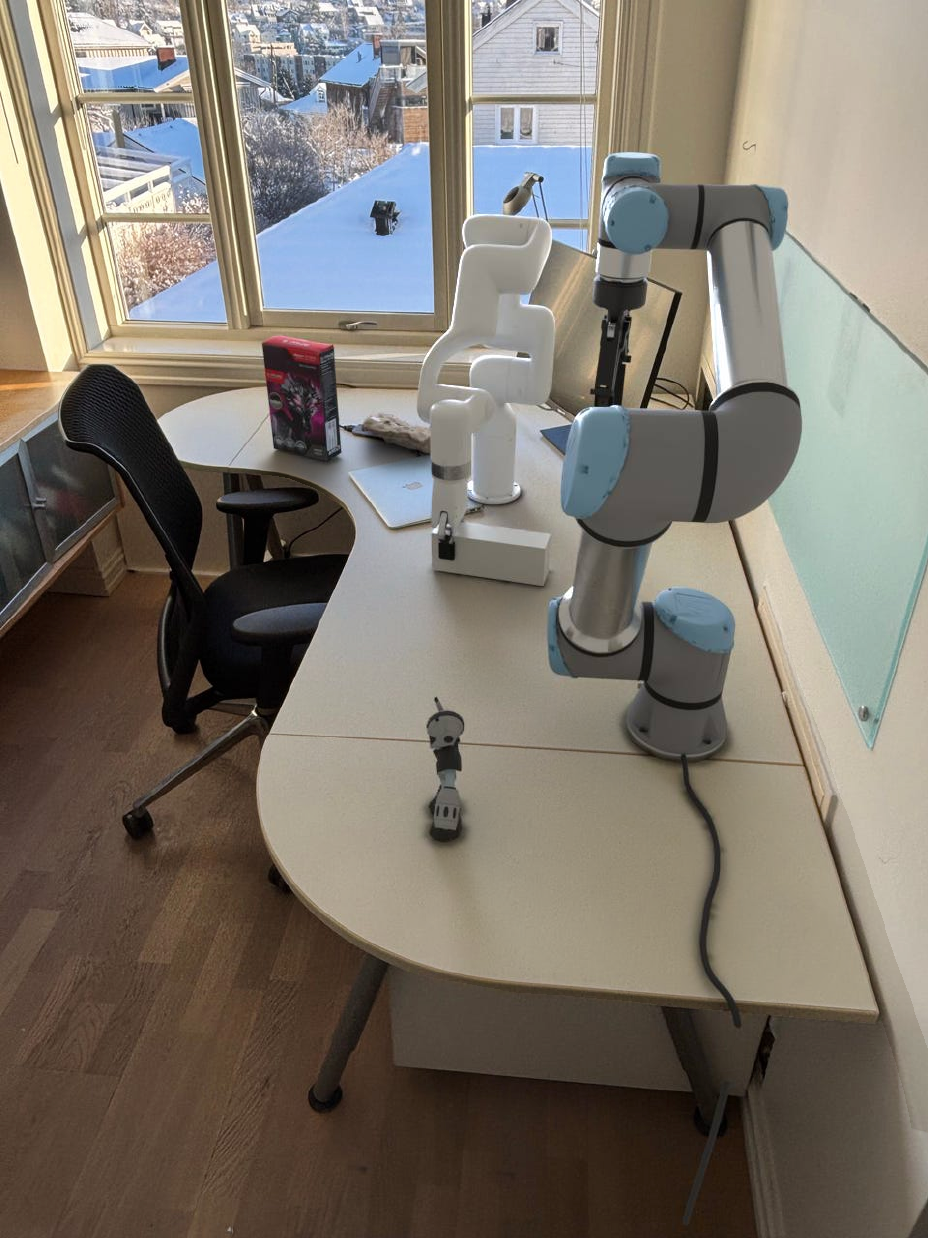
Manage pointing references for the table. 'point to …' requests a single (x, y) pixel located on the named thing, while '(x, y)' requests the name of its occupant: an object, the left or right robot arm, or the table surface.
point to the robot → (446, 772)
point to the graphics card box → (302, 396)
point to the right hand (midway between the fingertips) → (607, 419)
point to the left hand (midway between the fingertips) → (451, 549)
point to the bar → (496, 553)
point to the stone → (398, 432)
